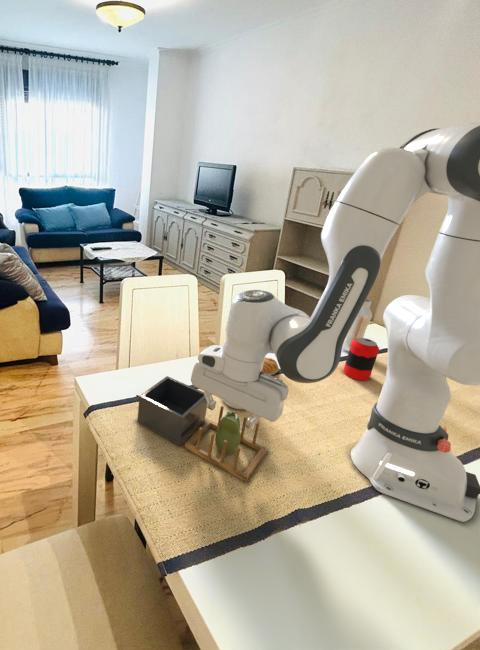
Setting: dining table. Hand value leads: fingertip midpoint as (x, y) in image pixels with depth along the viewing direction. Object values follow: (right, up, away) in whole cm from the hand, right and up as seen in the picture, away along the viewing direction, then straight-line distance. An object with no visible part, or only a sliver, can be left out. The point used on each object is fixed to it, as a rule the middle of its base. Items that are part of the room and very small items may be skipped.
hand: (229, 417), depth 87 cm
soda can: (+52, +2, +39) cm, 65 cm away
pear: (0, -9, +3) cm, 9 cm away
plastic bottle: (+60, +8, +55) cm, 82 cm away
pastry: (+22, +3, +38) cm, 44 cm away
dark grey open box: (-12, -5, +12) cm, 17 cm away
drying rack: (0, -9, +3) cm, 9 cm away
